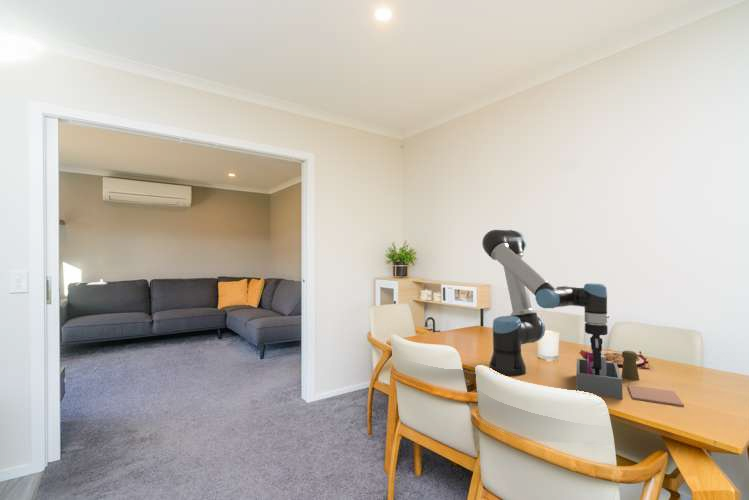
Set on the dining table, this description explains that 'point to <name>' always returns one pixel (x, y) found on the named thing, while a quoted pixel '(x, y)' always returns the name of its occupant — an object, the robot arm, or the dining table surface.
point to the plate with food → (619, 358)
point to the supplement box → (603, 365)
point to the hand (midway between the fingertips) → (596, 382)
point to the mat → (654, 395)
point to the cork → (629, 366)
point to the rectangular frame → (599, 380)
